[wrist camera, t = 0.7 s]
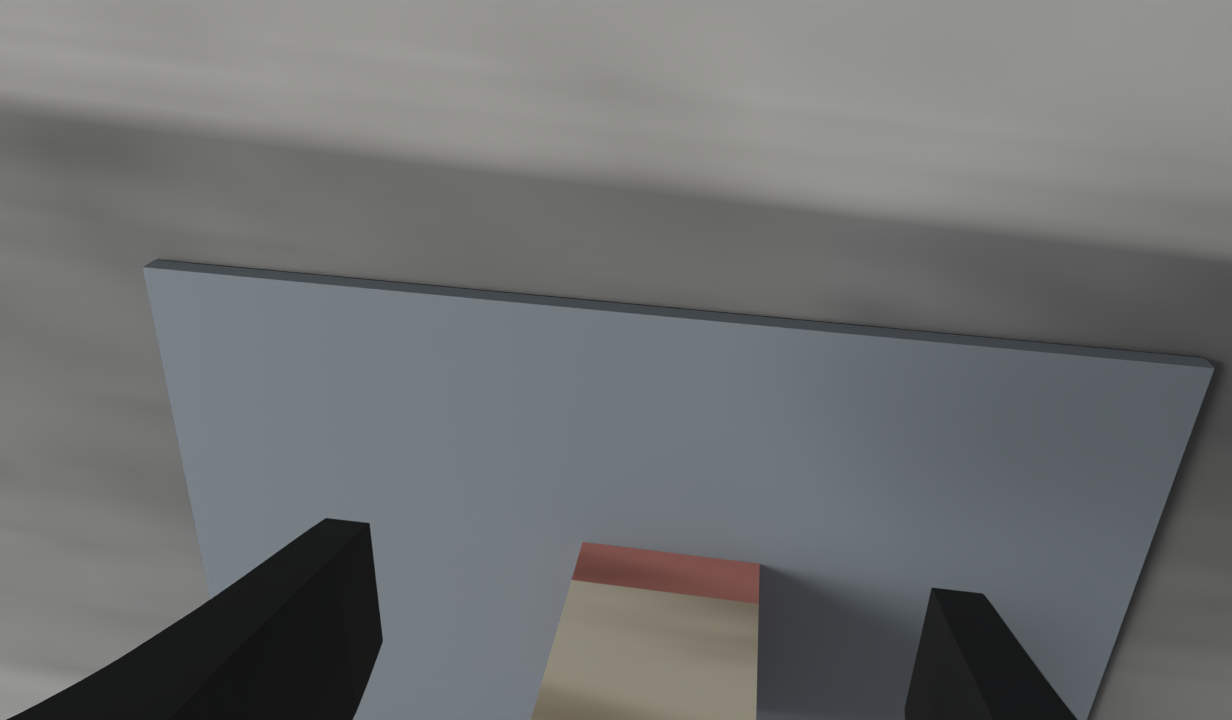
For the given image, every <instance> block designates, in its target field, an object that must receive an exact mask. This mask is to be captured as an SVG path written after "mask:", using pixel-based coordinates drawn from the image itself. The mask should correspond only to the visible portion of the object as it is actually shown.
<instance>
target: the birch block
mask: <svg viewBox="0 0 1232 720" xmlns="http://www.w3.org/2000/svg"><path fill="white" fill-rule="evenodd" d="M759 569H760V564H758V563H749V562H741V561H733V560H725V559H717V558H709V557H701V556H693V555H685V554H676V553H668V552H660V551H652V550H644V549H636V548H628V547H620V546H612V545H603V544H595V543H587V542H582V546H581V549H580V552H579V556H578V559H577V563H576V566H575V570H574V573H573V576H572V580H571V583H570V587H569V590H568V594H567V597H566V600H565V604H564V607H563V611H562V614H561V618H560V621H559V624H558V628H557V631H556V635H555V638H554V642H553V645H552V648H551V652H550V655H549V659H548V662H547V666H546V669H545V672H544V676H543V679H542V683H541V686H540V690H539V693H538V697H537V700H536V703H535V707H534V710H533V714H532V717H531V720H756V706H757V660H758V615H759Z"/></svg>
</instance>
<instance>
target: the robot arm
mask: <svg viewBox="0 0 1232 720" xmlns="http://www.w3.org/2000/svg"><path fill="white" fill-rule="evenodd" d="M382 643H383V636H382V628H381V619H380V610H379V601H378V592H377V584H376V575H375V566H374V557H373V548H372V540H371V531H370V523H365V522H357V521H348V520H339V519H331V518H325V519H324V520H322V521H321V522H319V523H318V524H316V525H315V526H313V527H312V528H310V529H309V530H307V531H306V532H304V533H303V534H302V535H300V536H299V537H297V538H296V539H295V540H293V541H292V542H290V543H289V544H288V545H286V546H285V547H283V548H282V549H281V550H279V551H278V552H276V553H275V554H274V555H272V556H271V557H270V558H268V559H267V560H265V561H264V562H263V563H261V564H260V565H258V566H257V567H256V568H254V569H253V570H252V571H250V572H249V573H247V574H246V575H244V576H243V577H242V578H240V579H239V580H237V581H236V582H234V583H233V584H232V585H230V586H229V587H227V588H226V589H224V590H223V591H222V592H220V593H219V594H217V595H216V596H215V597H213V598H212V599H210V600H209V601H207V602H206V603H205V604H203V605H202V606H200V607H199V608H197V609H196V610H194V611H193V612H191V613H190V614H188V615H187V616H185V617H183V618H182V619H180V620H179V621H177V622H176V623H174V624H173V625H171V626H169V627H168V628H166V629H165V630H163V631H162V632H160V633H159V634H157V635H155V636H154V637H152V638H151V639H149V640H148V641H146V642H145V643H143V644H141V645H140V646H138V647H137V648H135V649H134V650H132V651H131V652H129V653H127V654H126V655H124V656H123V657H121V658H119V659H118V660H116V661H114V662H113V663H111V664H109V665H108V666H106V667H104V668H102V669H101V670H99V671H97V672H95V673H94V674H92V675H90V676H88V677H87V678H85V679H83V680H82V681H80V682H78V683H76V684H74V685H72V686H70V687H69V688H67V689H65V690H63V691H61V692H59V693H57V694H56V695H54V696H52V697H50V698H48V699H46V700H45V701H43V702H41V703H39V704H37V705H35V706H33V707H31V708H29V709H27V710H25V711H23V712H21V713H20V714H18V715H15V716H13V717H11V718H9V719H7V720H353V718H354V716H355V714H356V712H357V709H358V707H359V704H360V702H361V699H362V697H363V694H364V692H365V689H366V686H367V684H368V681H369V679H370V676H371V673H372V670H373V668H374V665H375V662H376V659H377V657H378V654H379V651H380V648H381V645H382ZM904 711H905V720H1078V719H1077V718H1076V717H1075V715H1074V714H1073V713H1072V712H1071V710H1070V709H1069V708H1068V707H1067V705H1066V704H1065V703H1064V702H1063V700H1062V699H1061V698H1060V696H1059V695H1058V694H1057V693H1056V691H1055V690H1054V689H1053V687H1052V686H1051V685H1050V683H1049V682H1048V681H1047V679H1046V678H1045V677H1044V675H1043V674H1042V673H1041V671H1040V670H1039V669H1038V667H1037V666H1036V665H1035V663H1034V662H1033V660H1032V659H1031V658H1030V656H1029V655H1028V654H1027V652H1026V651H1025V650H1024V648H1023V647H1022V645H1021V644H1020V643H1019V641H1018V640H1017V639H1016V637H1015V636H1014V634H1013V633H1012V632H1011V630H1010V629H1009V627H1008V626H1007V625H1006V623H1005V622H1004V620H1003V619H1002V618H1001V616H1000V615H999V613H998V612H997V611H996V609H995V608H994V606H993V605H992V604H991V602H990V601H989V600H988V599H987V597H986V596H985V595H984V594H983V593H975V592H966V591H957V590H949V589H940V588H931V593H930V597H929V602H928V606H927V610H926V615H925V619H924V624H923V628H922V633H921V637H920V642H919V646H918V651H917V655H916V660H915V664H914V668H913V673H912V677H911V682H910V686H909V691H908V695H907V700H906V704H905V709H904Z"/></svg>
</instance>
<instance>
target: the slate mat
mask: <svg viewBox="0 0 1232 720" xmlns="http://www.w3.org/2000/svg"><path fill="white" fill-rule="evenodd" d="M143 270H144V275H145V280H146V285H147V290H148V295H149V300H150V305H151V310H152V315H153V320H154V325H155V330H156V334H157V339H158V344H159V349H160V354H161V359H162V364H163V369H164V374H165V379H166V384H167V389H168V394H169V399H170V404H171V409H172V413H173V418H174V423H175V428H176V433H177V438H178V443H179V448H180V453H181V458H182V463H183V468H184V473H185V478H186V483H187V487H188V492H189V497H190V502H191V507H192V512H193V517H194V522H195V527H196V532H197V537H198V542H199V547H200V552H201V557H202V562H203V566H204V571H205V576H206V581H207V586H208V591H209V596H210V599H212V598H213V597H215V596H216V595H217V594H219V593H220V592H222V591H223V590H224V589H226V588H227V587H229V586H230V585H232V584H233V583H234V582H236V581H237V580H239V579H240V578H242V577H243V576H244V575H246V574H247V573H249V572H250V571H252V570H253V569H254V568H256V567H257V566H258V565H260V564H261V563H263V562H264V561H265V560H267V559H268V558H270V557H271V556H272V555H274V554H275V553H276V552H278V551H279V550H281V549H282V548H283V547H285V546H286V545H288V544H289V543H290V542H292V541H293V540H295V539H296V538H297V537H299V536H300V535H302V534H303V533H304V532H306V531H307V530H309V529H310V528H312V527H313V526H315V525H316V524H318V523H319V522H321V521H322V520H324V519H325V518H331V519H339V520H348V521H357V522H365V523H370V531H371V540H372V548H373V557H374V566H375V575H376V584H377V592H378V601H379V610H380V619H381V628H382V636H383V643H382V645H381V648H380V651H379V654H378V657H377V659H376V662H375V665H374V668H373V670H372V673H371V676H370V679H369V681H368V684H367V686H366V689H365V692H364V694H363V697H362V699H361V702H360V704H359V707H358V709H357V712H356V714H355V716H354V718H353V720H531V717H532V714H533V710H534V707H535V703H536V700H537V697H538V693H539V690H540V686H541V683H542V679H543V676H544V672H545V669H546V666H547V662H548V659H549V655H550V652H551V648H552V645H553V642H554V638H555V635H556V631H557V628H558V624H559V621H560V618H561V614H562V611H563V607H564V604H565V600H566V597H567V594H568V590H569V587H570V583H571V580H572V576H573V573H574V570H575V566H576V563H577V559H578V556H579V552H580V549H581V546H582V542H587V543H595V544H603V545H612V546H620V547H628V548H636V549H644V550H652V551H660V552H668V553H676V554H685V555H693V556H701V557H709V558H717V559H725V560H733V561H741V562H749V563H758V564H760V569H759V615H758V660H757V706H756V720H905V711H904V709H905V704H906V700H907V695H908V691H909V686H910V682H911V677H912V673H913V668H914V664H915V660H916V655H917V651H918V646H919V642H920V637H921V633H922V628H923V624H924V619H925V615H926V610H927V606H928V602H929V597H930V593H931V588H940V589H949V590H957V591H966V592H975V593H983V594H984V595H985V596H986V597H987V599H988V600H989V601H990V602H991V604H992V605H993V606H994V608H995V609H996V611H997V612H998V613H999V615H1000V616H1001V618H1002V619H1003V620H1004V622H1005V623H1006V625H1007V626H1008V627H1009V629H1010V630H1011V632H1012V633H1013V634H1014V636H1015V637H1016V639H1017V640H1018V641H1019V643H1020V644H1021V645H1022V647H1023V648H1024V650H1025V651H1026V652H1027V654H1028V655H1029V656H1030V658H1031V659H1032V660H1033V662H1034V663H1035V665H1036V666H1037V667H1038V669H1039V670H1040V671H1041V673H1042V674H1043V675H1044V677H1045V678H1046V679H1047V681H1048V682H1049V683H1050V685H1051V686H1052V687H1053V689H1054V690H1055V691H1056V693H1057V694H1058V695H1059V696H1060V698H1061V699H1062V700H1063V702H1064V703H1065V704H1066V705H1067V707H1068V708H1069V709H1070V710H1071V712H1072V713H1073V714H1074V715H1075V717H1076V718H1077V719H1078V720H1087V718H1088V715H1089V712H1090V710H1091V707H1092V704H1093V701H1094V699H1095V696H1096V693H1097V690H1098V688H1099V685H1100V682H1101V679H1102V677H1103V674H1104V671H1105V668H1106V666H1107V663H1108V660H1109V657H1110V655H1111V652H1112V649H1113V646H1114V644H1115V641H1116V638H1117V635H1118V633H1119V630H1120V627H1121V624H1122V622H1123V619H1124V616H1125V613H1126V611H1127V608H1128V605H1129V602H1130V600H1131V597H1132V594H1133V591H1134V589H1135V586H1136V583H1137V580H1138V578H1139V575H1140V572H1141V569H1142V567H1143V564H1144V561H1145V558H1146V556H1147V553H1148V550H1149V547H1150V545H1151V542H1152V539H1153V536H1154V534H1155V531H1156V528H1157V525H1158V523H1159V520H1160V517H1161V514H1162V512H1163V509H1164V506H1165V503H1166V501H1167V498H1168V495H1169V492H1170V490H1171V487H1172V484H1173V481H1174V479H1175V476H1176V473H1177V470H1178V468H1179V465H1180V462H1181V459H1182V457H1183V454H1184V451H1185V448H1186V446H1187V443H1188V440H1189V437H1190V435H1191V432H1192V429H1193V426H1194V424H1195V421H1196V418H1197V415H1198V413H1199V410H1200V407H1201V404H1202V402H1203V399H1204V396H1205V393H1206V391H1207V388H1208V385H1209V382H1210V380H1211V377H1212V374H1213V371H1214V369H1215V368H1214V367H1213V366H1212V365H1211V364H1210V363H1209V362H1208V361H1207V360H1206V359H1205V358H1201V357H1190V356H1179V355H1169V354H1158V353H1147V352H1136V351H1126V350H1115V349H1104V348H1094V347H1083V346H1072V345H1062V344H1051V343H1040V342H1029V341H1019V340H1008V339H997V338H987V337H976V336H965V335H955V334H944V333H933V332H922V331H912V330H901V329H890V328H880V327H869V326H858V325H847V324H837V323H826V322H815V321H805V320H794V319H783V318H773V317H762V316H751V315H740V314H730V313H719V312H708V311H698V310H687V309H676V308H665V307H655V306H644V305H633V304H623V303H612V302H601V301H591V300H580V299H569V298H558V297H548V296H537V295H526V294H516V293H505V292H494V291H484V290H473V289H462V288H451V287H441V286H430V285H419V284H409V283H398V282H387V281H376V280H366V279H355V278H344V277H334V276H323V275H312V274H302V273H291V272H280V271H269V270H259V269H248V268H237V267H227V266H216V265H205V264H194V263H184V262H173V261H162V260H154V261H152V262H151V263H149V264H147V265H146V266H144V267H143Z"/></svg>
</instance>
